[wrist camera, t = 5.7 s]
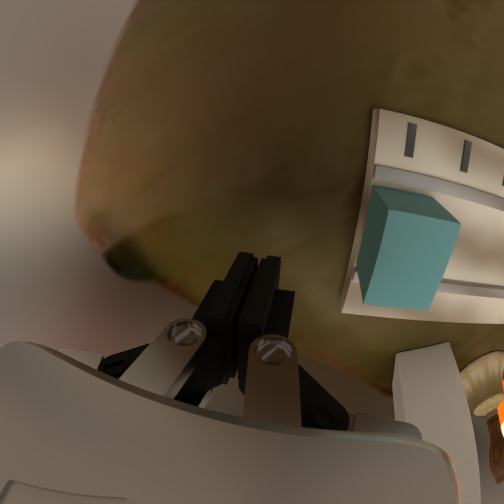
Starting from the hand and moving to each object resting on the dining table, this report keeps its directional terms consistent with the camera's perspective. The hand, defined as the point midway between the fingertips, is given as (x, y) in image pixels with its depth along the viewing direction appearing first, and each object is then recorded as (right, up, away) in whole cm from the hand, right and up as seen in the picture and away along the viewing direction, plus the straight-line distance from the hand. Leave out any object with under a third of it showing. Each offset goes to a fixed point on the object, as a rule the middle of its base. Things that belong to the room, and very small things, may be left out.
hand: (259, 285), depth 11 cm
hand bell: (+28, -13, +11) cm, 33 cm away
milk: (+17, -10, +12) cm, 23 cm away
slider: (+8, +3, +4) cm, 9 cm away
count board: (+19, +2, +4) cm, 19 cm away
